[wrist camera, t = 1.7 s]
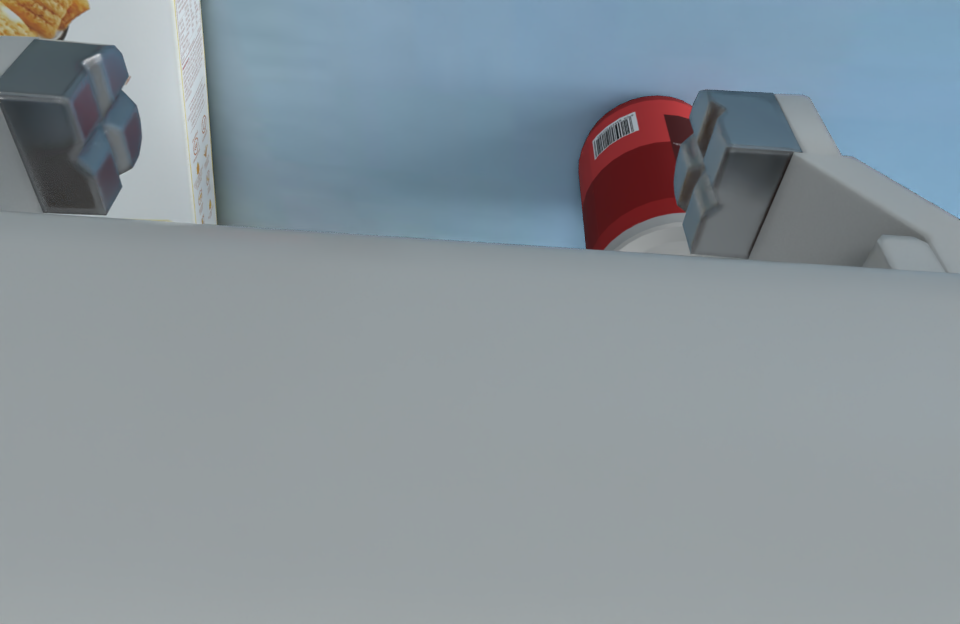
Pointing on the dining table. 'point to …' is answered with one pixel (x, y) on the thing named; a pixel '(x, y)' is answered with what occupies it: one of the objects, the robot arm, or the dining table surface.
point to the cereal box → (145, 94)
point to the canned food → (635, 178)
